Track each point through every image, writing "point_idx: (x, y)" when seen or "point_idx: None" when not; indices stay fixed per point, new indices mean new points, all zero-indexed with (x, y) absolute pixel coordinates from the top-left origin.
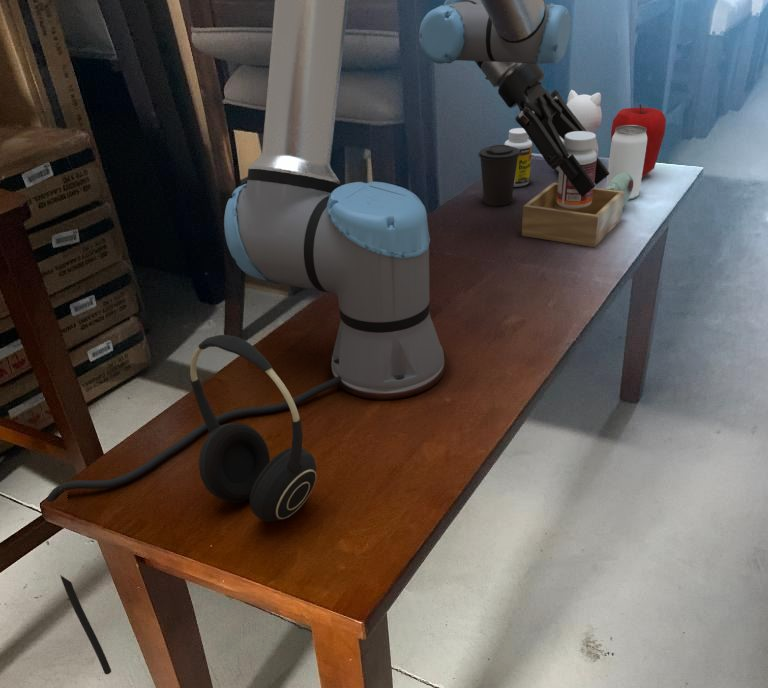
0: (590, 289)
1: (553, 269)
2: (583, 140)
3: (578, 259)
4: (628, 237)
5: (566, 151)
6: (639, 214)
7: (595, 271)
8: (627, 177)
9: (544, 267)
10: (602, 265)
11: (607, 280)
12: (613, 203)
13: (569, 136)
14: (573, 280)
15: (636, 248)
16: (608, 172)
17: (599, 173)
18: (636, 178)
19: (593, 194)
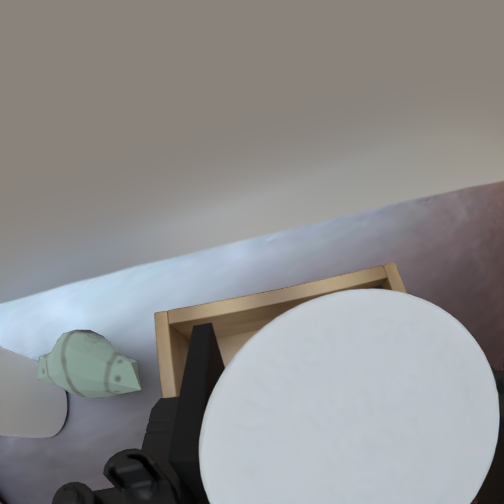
0: (485, 206)
1: (491, 292)
2: (459, 324)
3: (436, 285)
4: (269, 269)
5: (501, 400)
6: (123, 318)
7: (447, 231)
8: (77, 337)
9: (497, 310)
10: (423, 235)
11: (452, 201)
12: (262, 293)
13: (454, 489)
14: (490, 240)
15: (314, 227)
16: (193, 329)
17: (217, 361)
18: (22, 357)
19: None
